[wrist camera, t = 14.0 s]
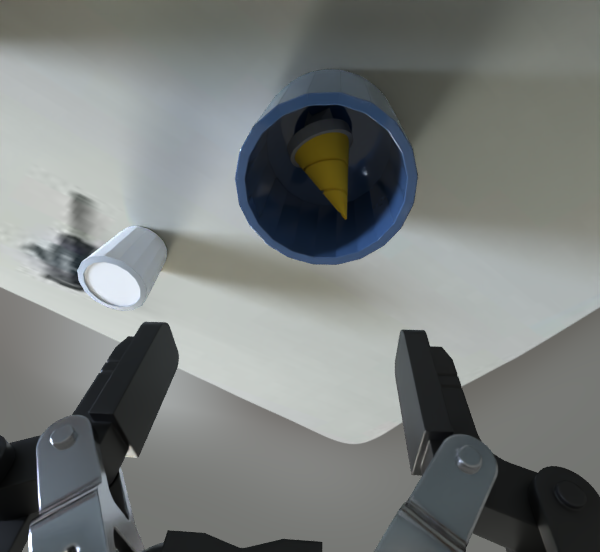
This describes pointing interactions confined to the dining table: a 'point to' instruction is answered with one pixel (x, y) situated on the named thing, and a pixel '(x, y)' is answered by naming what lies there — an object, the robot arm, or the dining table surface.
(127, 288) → the white cylinder
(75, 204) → the dining table surface
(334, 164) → the drill bit
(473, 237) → the dining table surface
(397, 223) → the cup
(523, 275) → the dining table surface
